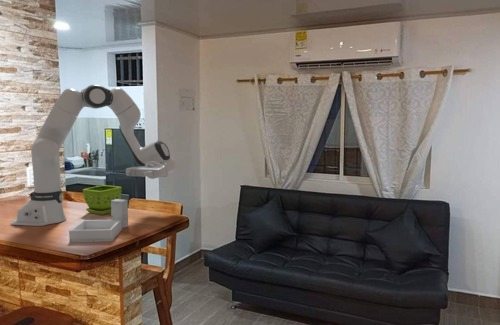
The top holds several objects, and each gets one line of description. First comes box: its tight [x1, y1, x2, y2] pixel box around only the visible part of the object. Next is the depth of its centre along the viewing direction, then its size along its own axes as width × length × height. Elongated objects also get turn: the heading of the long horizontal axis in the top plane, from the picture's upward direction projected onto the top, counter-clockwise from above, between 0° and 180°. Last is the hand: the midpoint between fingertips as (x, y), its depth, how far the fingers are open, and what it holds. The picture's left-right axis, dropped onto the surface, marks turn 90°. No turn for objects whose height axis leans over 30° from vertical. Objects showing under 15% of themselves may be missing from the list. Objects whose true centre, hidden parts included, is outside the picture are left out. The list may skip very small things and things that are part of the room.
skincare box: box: [110, 198, 129, 229], centre depth 176 cm, size 6×4×12 cm
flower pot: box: [82, 184, 123, 216], centre depth 202 cm, size 14×14×13 cm
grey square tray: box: [68, 219, 123, 243], centre depth 163 cm, size 16×16×4 cm
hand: (135, 174), depth 185 cm, fingers open, 8 cm apart
